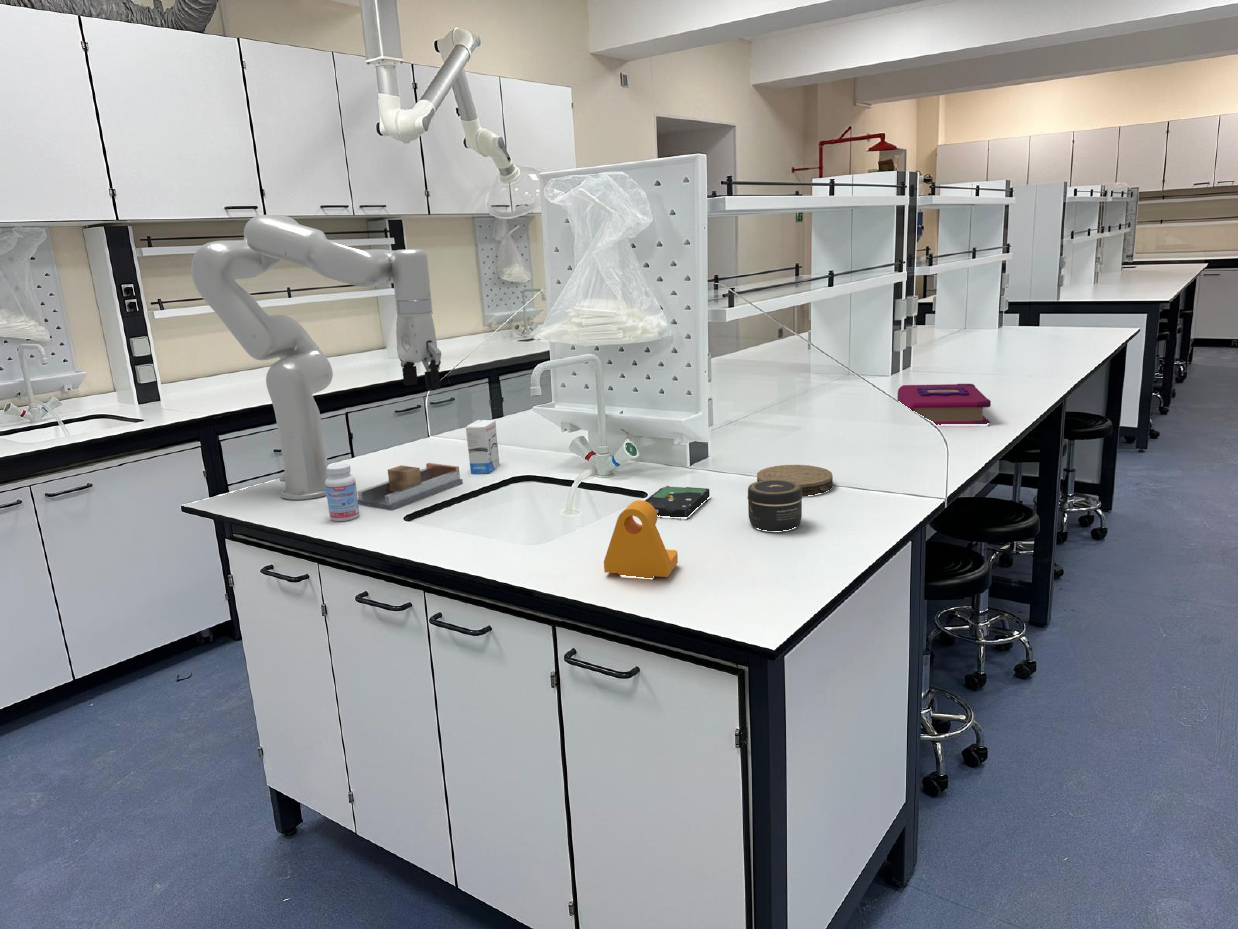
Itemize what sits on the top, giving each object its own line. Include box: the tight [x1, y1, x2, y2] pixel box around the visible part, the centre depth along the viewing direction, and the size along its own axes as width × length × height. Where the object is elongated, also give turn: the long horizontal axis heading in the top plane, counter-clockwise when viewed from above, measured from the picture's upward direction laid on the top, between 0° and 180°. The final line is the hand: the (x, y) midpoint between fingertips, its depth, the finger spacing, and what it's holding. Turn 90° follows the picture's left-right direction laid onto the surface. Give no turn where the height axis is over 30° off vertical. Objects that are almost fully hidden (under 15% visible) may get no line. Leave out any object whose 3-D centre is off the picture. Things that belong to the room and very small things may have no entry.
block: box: [387, 465, 421, 492], centre depth 194 cm, size 6×4×5 cm, turn 57°
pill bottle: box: [325, 462, 360, 522], centre depth 180 cm, size 6×6×11 cm
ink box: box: [465, 419, 501, 475], centre depth 213 cm, size 9×5×12 cm, turn 168°
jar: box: [747, 480, 803, 531], centre depth 161 cm, size 10×10×8 cm
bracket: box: [603, 499, 679, 578], centre depth 142 cm, size 11×7×12 cm, turn 72°
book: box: [896, 383, 992, 425], centre depth 243 cm, size 21×28×8 cm
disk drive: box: [644, 485, 711, 517], centre depth 176 cm, size 10×3×15 cm
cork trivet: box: [756, 464, 834, 496], centre depth 185 cm, size 16×16×3 cm
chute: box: [357, 462, 464, 511], centre depth 196 cm, size 11×22×4 cm, turn 147°
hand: (421, 386), depth 190 cm, fingers open, 9 cm apart
